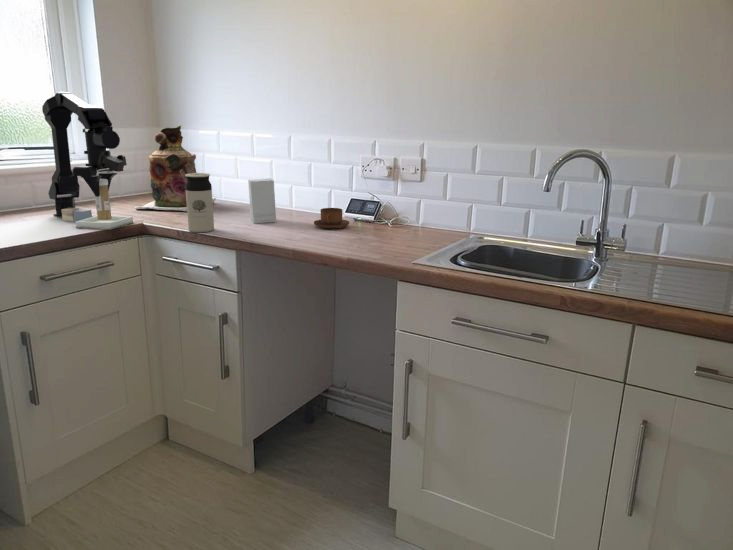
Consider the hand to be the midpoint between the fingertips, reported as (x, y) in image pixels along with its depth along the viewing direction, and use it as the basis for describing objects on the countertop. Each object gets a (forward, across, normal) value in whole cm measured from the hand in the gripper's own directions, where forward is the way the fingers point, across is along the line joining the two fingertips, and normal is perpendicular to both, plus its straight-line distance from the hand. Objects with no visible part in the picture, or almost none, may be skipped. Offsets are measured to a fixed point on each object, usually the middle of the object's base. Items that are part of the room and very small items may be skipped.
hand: (101, 195), depth 187 cm
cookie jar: (+10, +42, -4) cm, 43 cm away
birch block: (+10, +6, +17) cm, 21 cm away
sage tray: (+10, 0, 0) cm, 10 cm away
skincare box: (+10, +18, -49) cm, 53 cm away
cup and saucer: (+10, +14, -75) cm, 77 cm away
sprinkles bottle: (+8, 0, 0) cm, 8 cm away
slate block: (+10, +4, +11) cm, 15 cm away
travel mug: (+10, -1, -35) cm, 36 cm away
